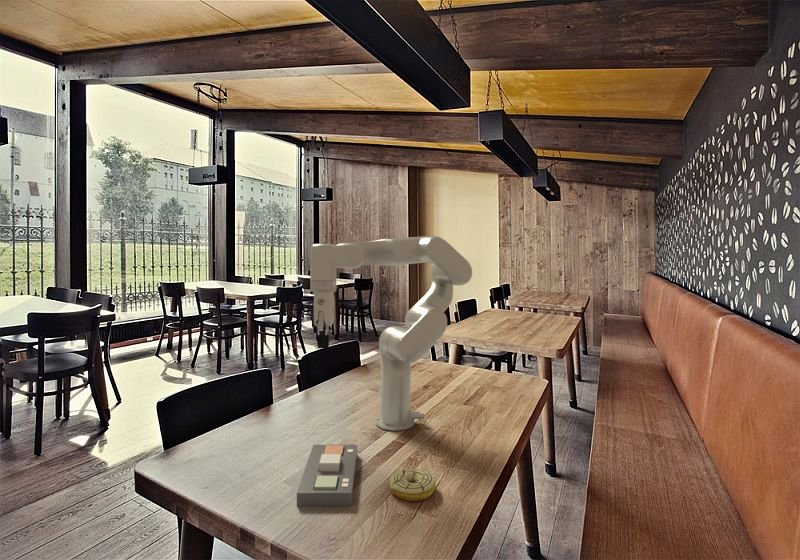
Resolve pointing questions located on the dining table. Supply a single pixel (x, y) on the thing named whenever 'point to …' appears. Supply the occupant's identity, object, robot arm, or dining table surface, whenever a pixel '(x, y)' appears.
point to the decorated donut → (412, 484)
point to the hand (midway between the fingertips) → (323, 347)
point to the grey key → (330, 463)
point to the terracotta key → (334, 449)
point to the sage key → (326, 483)
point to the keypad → (345, 476)
